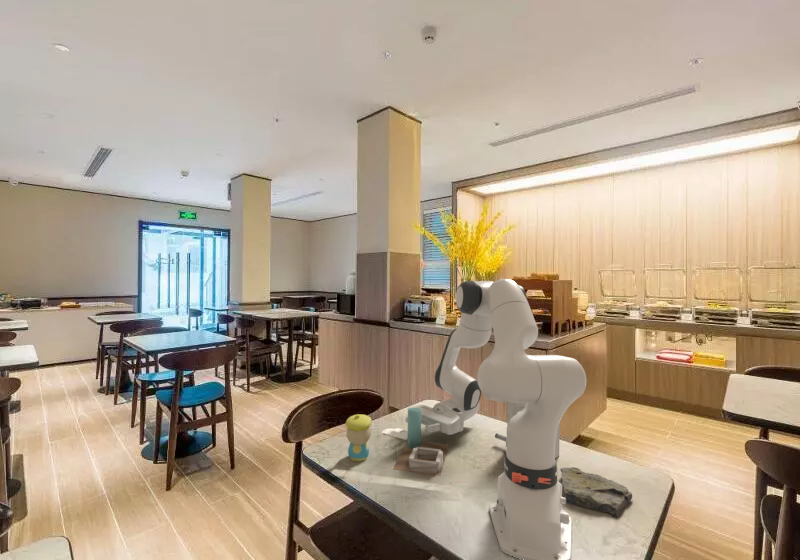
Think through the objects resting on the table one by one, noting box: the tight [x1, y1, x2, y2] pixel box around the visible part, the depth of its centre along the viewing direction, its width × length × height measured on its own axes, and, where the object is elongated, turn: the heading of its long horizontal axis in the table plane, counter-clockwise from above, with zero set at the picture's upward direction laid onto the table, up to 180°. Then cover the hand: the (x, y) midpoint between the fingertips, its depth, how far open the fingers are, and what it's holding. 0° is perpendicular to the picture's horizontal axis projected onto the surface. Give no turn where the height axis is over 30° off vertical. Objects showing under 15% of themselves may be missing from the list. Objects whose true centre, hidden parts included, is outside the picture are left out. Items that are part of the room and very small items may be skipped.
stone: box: [559, 466, 633, 518], centre depth 99 cm, size 18×15×4 cm
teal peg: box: [407, 407, 422, 449], centre depth 124 cm, size 4×4×12 cm
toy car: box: [381, 427, 408, 441], centre depth 133 cm, size 6×12×3 cm, turn 59°
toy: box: [345, 413, 373, 462], centre depth 116 cm, size 8×9×15 cm
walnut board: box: [392, 440, 450, 477], centre depth 117 cm, size 20×14×4 cm
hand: (416, 424), depth 124 cm, fingers open, 8 cm apart
